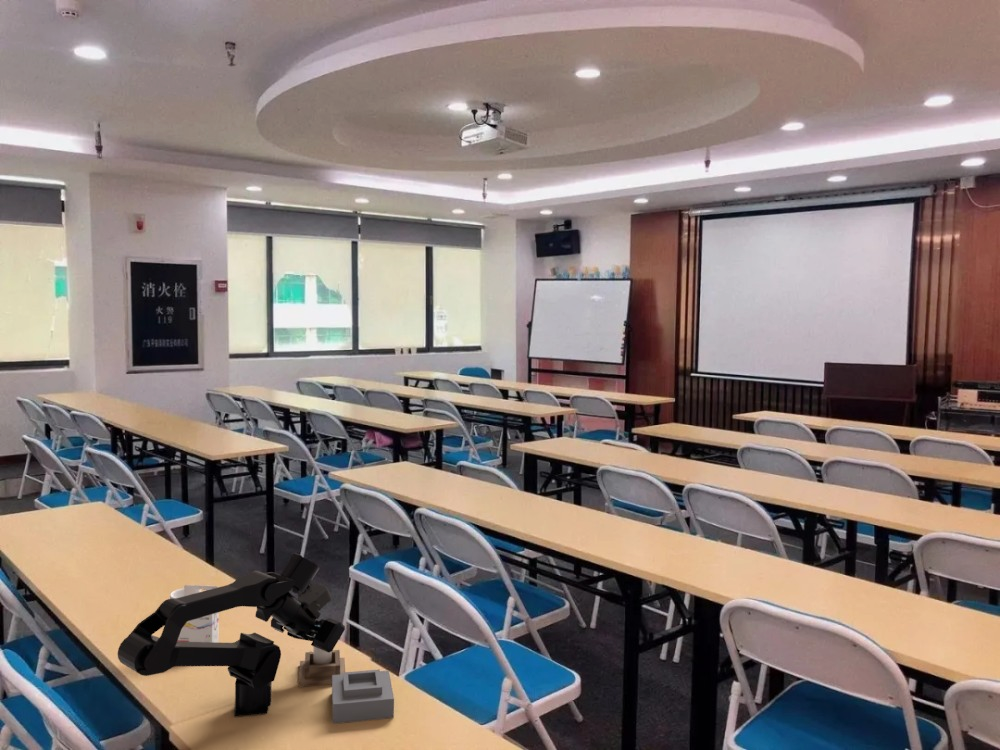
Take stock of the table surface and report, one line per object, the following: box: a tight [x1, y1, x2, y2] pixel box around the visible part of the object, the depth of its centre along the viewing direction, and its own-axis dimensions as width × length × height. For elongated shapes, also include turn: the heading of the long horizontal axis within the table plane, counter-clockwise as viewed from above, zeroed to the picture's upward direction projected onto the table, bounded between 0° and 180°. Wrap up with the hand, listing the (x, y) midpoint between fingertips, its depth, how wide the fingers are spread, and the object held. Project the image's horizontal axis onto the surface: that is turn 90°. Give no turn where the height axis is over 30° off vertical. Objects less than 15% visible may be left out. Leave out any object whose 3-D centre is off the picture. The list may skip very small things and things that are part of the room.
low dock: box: [298, 649, 346, 687], centre depth 167 cm, size 10×10×4 cm
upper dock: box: [331, 669, 395, 725], centre depth 154 cm, size 12×12×6 cm
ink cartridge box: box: [177, 584, 220, 643], centre depth 177 cm, size 9×5×15 cm, turn 92°
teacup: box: [169, 587, 202, 599], centre depth 198 cm, size 10×8×5 cm
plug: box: [312, 625, 332, 665], centre depth 167 cm, size 4×4×8 cm
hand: (327, 642), depth 168 cm, fingers closed on plug, 4 cm apart
